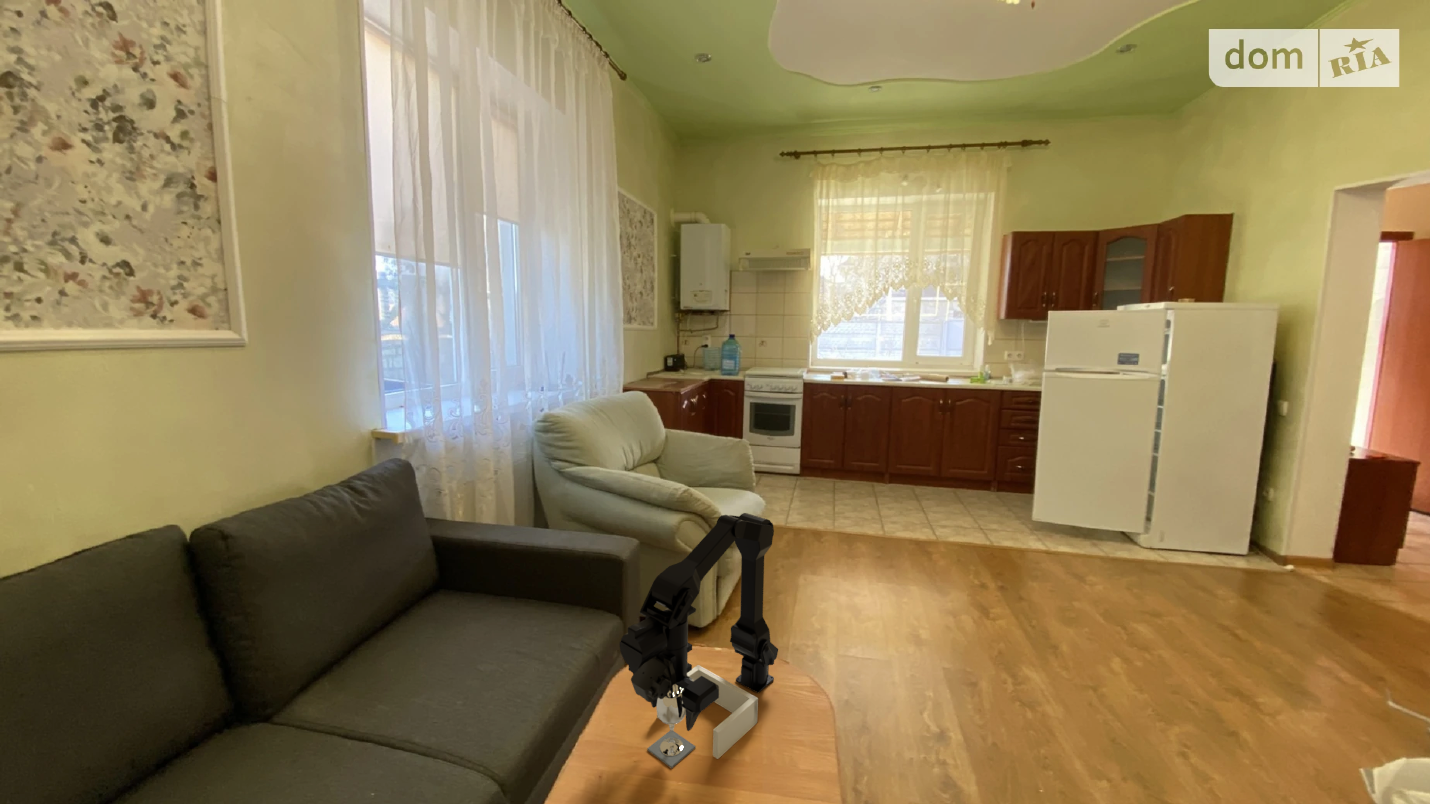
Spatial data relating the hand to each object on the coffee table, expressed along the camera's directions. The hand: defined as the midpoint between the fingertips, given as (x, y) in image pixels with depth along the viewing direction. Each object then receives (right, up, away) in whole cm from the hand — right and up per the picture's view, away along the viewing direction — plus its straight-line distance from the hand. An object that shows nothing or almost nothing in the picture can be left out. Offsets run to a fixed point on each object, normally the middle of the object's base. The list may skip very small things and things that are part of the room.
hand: (671, 717), depth 102 cm
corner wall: (+7, -6, +9) cm, 12 cm away
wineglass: (0, -6, +1) cm, 6 cm away
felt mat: (0, -7, +1) cm, 7 cm away
